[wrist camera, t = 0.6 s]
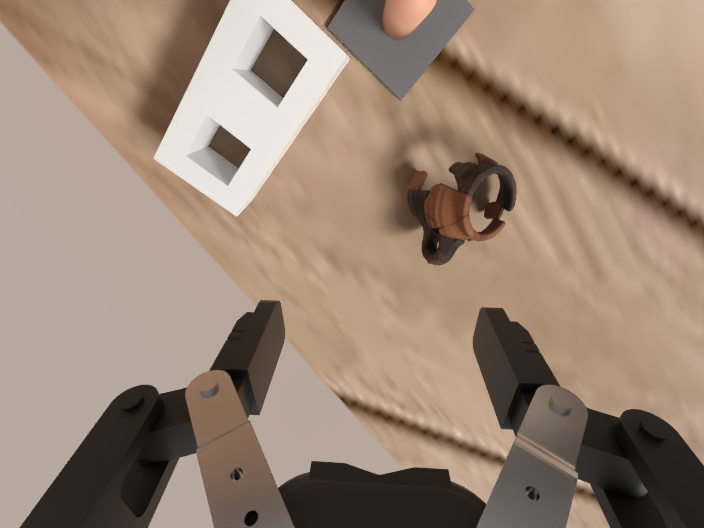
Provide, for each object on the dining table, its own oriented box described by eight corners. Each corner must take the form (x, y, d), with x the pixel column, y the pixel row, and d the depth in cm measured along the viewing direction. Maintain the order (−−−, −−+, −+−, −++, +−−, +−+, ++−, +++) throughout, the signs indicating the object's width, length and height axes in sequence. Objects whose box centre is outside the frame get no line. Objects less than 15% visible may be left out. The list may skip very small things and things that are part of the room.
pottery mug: (415, 140, 34) (476, 143, 27) (473, 163, 39) (537, 170, 32) (384, 248, 37) (431, 275, 30) (442, 256, 42) (494, 281, 35)
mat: (397, -82, 25) (397, -84, 25) (473, 10, 28) (474, 9, 27) (327, 28, 29) (327, 27, 28) (400, 100, 31) (400, 100, 31)
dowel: (398, -13, 27) (413, -57, 18) (424, 15, 28) (449, -14, 19) (375, 21, 28) (378, -5, 19) (399, 48, 29) (413, 34, 20)
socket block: (268, -21, 27) (249, -40, 23) (350, 58, 30) (347, 55, 26) (180, 148, 35) (153, 158, 30) (251, 200, 37) (236, 216, 33)
